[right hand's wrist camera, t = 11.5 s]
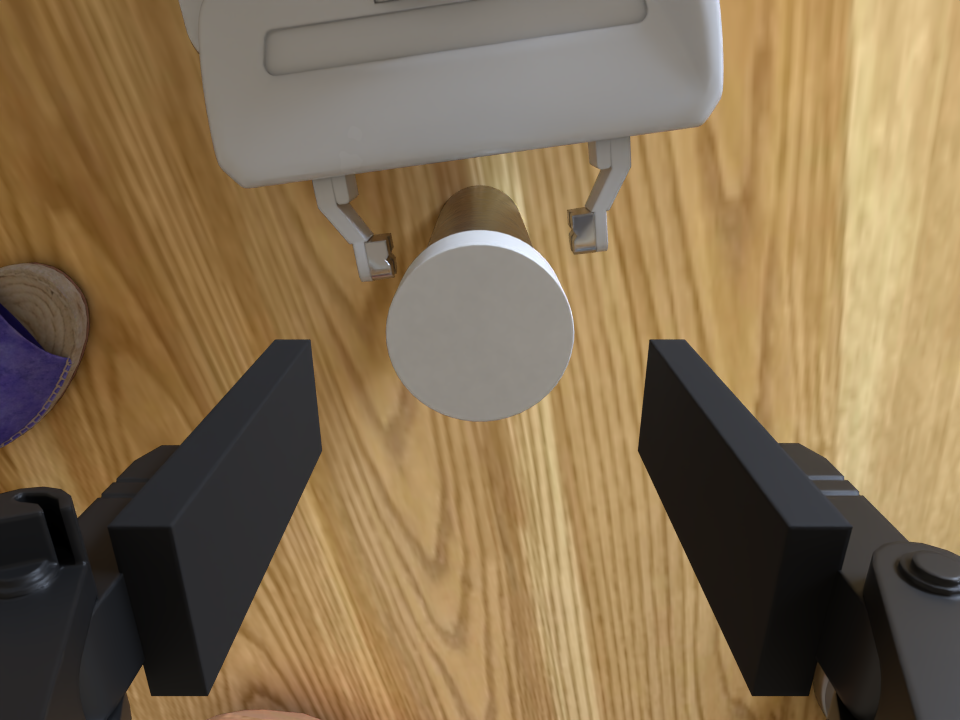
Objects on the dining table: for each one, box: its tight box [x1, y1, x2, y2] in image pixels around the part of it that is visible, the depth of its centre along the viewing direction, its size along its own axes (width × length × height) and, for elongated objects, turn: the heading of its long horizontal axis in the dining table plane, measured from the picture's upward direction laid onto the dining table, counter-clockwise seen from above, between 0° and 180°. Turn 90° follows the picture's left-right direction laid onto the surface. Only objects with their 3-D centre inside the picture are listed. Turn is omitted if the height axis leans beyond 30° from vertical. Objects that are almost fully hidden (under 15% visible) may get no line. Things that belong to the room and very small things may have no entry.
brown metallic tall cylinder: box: [427, 186, 533, 248], centre depth 26 cm, size 5×5×17 cm
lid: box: [386, 230, 574, 421], centre depth 19 cm, size 5×5×2 cm
